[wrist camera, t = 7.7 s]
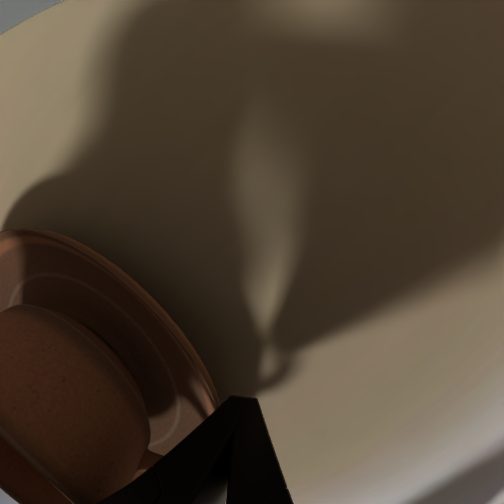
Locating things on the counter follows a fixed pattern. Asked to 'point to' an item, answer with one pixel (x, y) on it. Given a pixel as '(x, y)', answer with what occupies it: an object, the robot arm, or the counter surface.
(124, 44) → the counter surface
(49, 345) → the cup and saucer
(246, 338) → the counter surface
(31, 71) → the counter surface
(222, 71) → the counter surface
